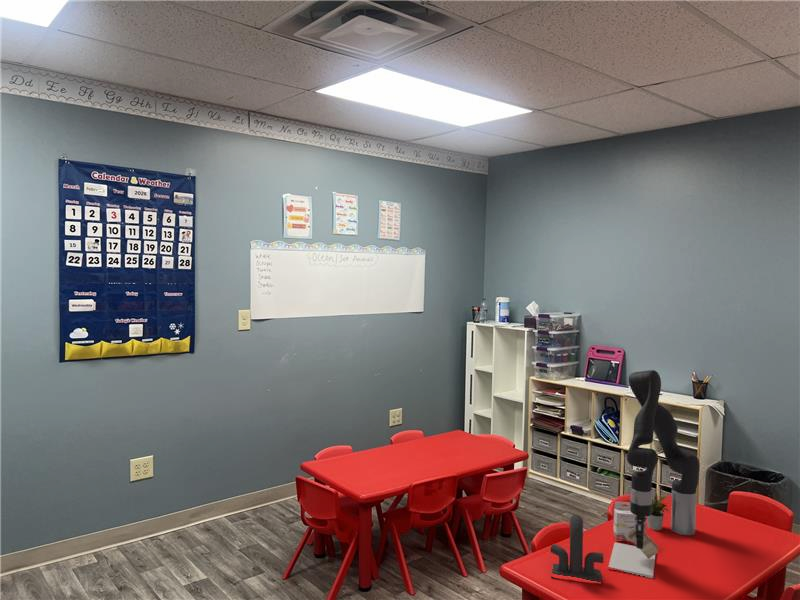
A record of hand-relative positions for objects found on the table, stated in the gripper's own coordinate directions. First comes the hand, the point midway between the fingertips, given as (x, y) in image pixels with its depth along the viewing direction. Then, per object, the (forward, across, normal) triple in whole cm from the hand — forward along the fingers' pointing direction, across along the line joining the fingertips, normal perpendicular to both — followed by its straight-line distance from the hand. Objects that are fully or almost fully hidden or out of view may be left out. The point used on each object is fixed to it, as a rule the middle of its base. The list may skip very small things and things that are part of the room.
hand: (640, 545), depth 224 cm
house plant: (+6, -34, +2) cm, 35 cm away
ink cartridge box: (+6, -17, -6) cm, 19 cm away
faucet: (+6, +18, -20) cm, 28 cm away
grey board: (+6, +1, -2) cm, 7 cm away
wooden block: (+2, 0, +5) cm, 5 cm away
